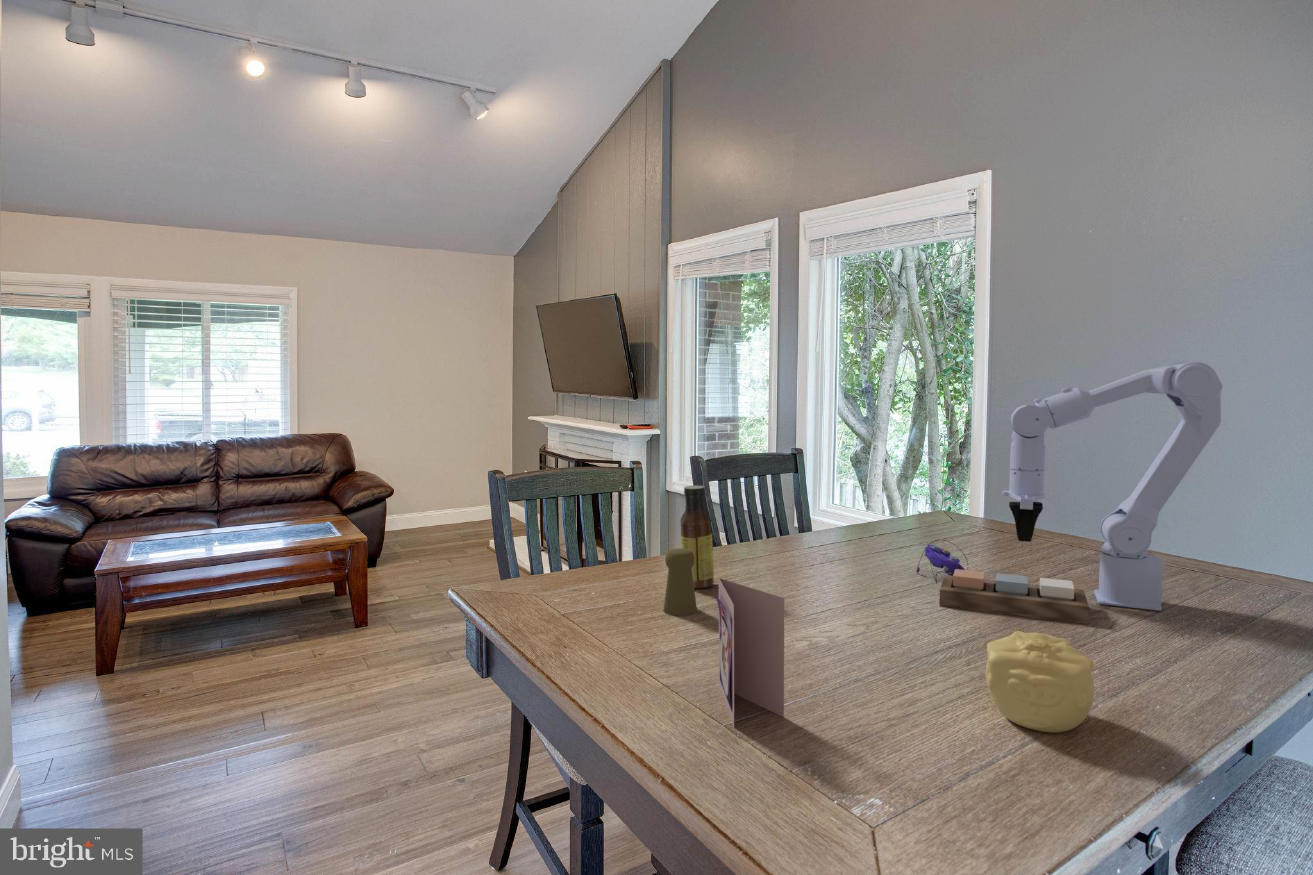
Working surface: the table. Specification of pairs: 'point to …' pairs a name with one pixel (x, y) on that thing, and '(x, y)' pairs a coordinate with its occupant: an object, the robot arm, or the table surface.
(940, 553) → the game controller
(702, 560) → the sauce bottle
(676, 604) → the cork
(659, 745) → the table surface
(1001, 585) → the slate key
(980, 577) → the terracotta key
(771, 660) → the greeting card
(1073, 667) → the sculpture
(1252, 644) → the table surface
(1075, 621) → the brown long flat frame
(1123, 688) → the table surface
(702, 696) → the table surface
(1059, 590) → the ivory key
